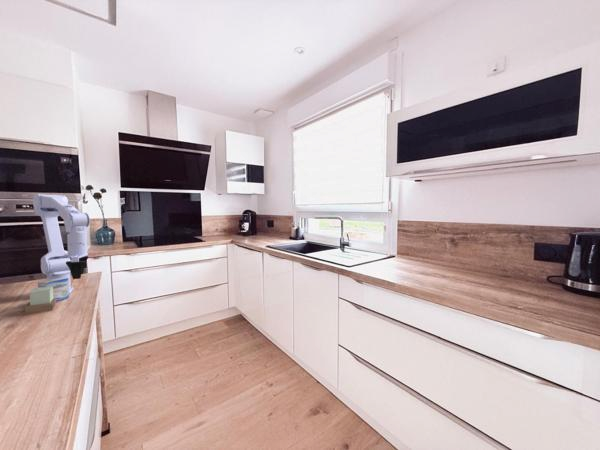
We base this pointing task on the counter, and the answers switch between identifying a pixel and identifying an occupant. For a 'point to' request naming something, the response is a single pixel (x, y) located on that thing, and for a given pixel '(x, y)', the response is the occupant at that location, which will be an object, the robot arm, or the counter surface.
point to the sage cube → (41, 295)
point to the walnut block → (40, 307)
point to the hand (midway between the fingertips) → (78, 276)
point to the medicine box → (57, 287)
